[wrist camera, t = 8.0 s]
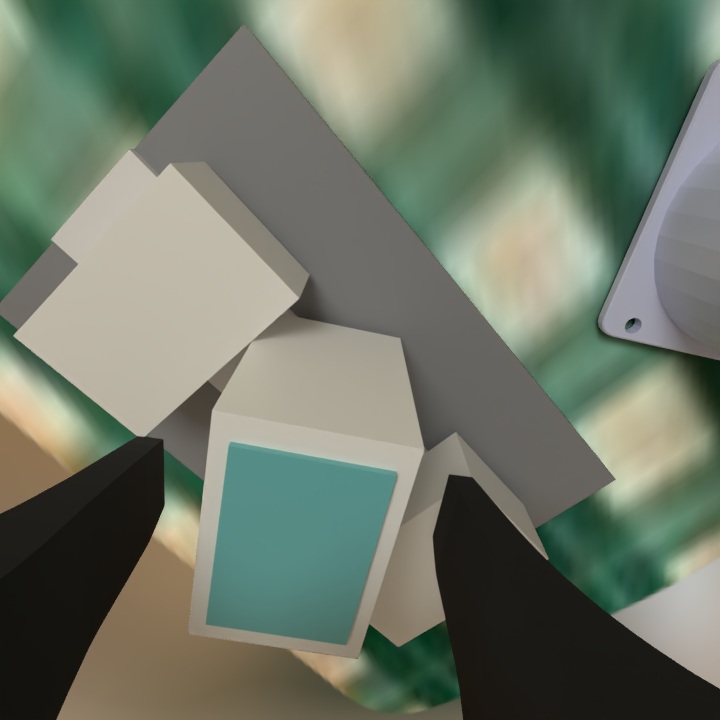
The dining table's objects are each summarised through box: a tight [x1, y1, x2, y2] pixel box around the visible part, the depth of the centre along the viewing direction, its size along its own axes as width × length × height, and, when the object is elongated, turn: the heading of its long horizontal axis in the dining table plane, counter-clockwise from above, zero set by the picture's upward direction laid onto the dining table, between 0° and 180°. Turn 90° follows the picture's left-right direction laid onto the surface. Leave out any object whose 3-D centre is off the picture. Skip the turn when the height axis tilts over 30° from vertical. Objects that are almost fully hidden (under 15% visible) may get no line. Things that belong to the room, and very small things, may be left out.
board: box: [0, 24, 616, 647], centre depth 15 cm, size 18×11×4 cm, turn 41°
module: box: [188, 314, 424, 659], centre depth 13 cm, size 4×6×6 cm, turn 168°
